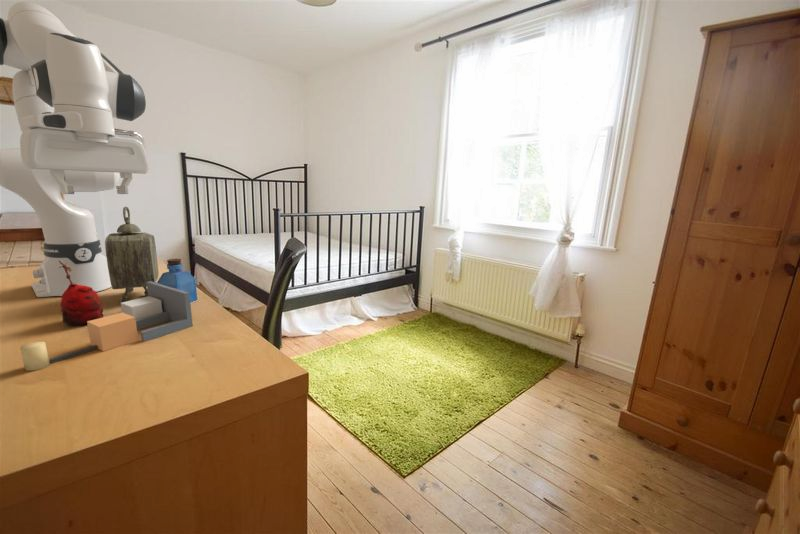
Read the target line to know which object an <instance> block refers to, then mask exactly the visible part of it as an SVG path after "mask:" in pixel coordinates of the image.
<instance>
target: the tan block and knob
mask: <svg viewBox="0 0 800 534" xmlns="http://www.w3.org/2000/svg"><path fill="white" fill-rule="evenodd" d="M118 313H119V314H117V313H114V314H115V315H113V314H110V315H111V316H109V315H106V316H107V317H106V316H103V317H102V318H99V319H95V320H91V321H87V329H88V335H89V341H90V346H87V347H85V348H81V349H77V350H73V351H71V352H67V353H64V354H61V355H57V356H54V357H52V358H49V354H48V349H47V344H46V341H35V342H29V343H27V344H24V345H21V346H20V352H21V356H22V357H21V358H22V361H23V365H24V366H23V367H24V370H25V371H26V372H33V371H39V370H42V369H44V368H47V367H48V366H49V365H50V364H53V363H56V362H59V361H63V360H66V359H69V358H73V357H76V356H78V355H82V354H86V353H88V352H92V351H95V350H100V351H102V352H105V351H108V350H112V349H115V348H119V347H121V346H124V345H127V344H131V343H134V342H137V341H139V334H138V330H137V327H136V320H135V317H133V316H130V315H128V314H125V313H121V312H118Z"/></svg>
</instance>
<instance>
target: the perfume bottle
mask: <svg viewBox="0 0 800 534" xmlns="http://www.w3.org/2000/svg"><path fill="white" fill-rule="evenodd" d="M166 261H167V264H166V269H167V270H168V271H167V272H162V274H161V276H160V277H158V279H157V281H156V283H159V284H162V285H166V286H169V287H172V288H176V289H179V290H182V291H186V292H189V295H190V303H191V302H193V301H196V300H198V292H197V283H196V278H195V277H194V276H193V274H191V272H189V271H188V270H182V268H183V263H182V258H169V259H167V260H166ZM196 302H197V301H196ZM193 303H194V302H193ZM191 304H192V303H191Z"/></svg>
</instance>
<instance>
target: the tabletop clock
mask: <svg viewBox="0 0 800 534" xmlns="http://www.w3.org/2000/svg"><path fill="white" fill-rule="evenodd" d="M126 212H127V215H126ZM122 217H123V221H124V223H123V224H121V225H119V226H118V228H117V230H116V232H115V233H109V234H108V235H106V238H105V241H104V245H105V246H104V248H105V255H106V257H107V265H108V271H109V276H110V282H111V289H112V290H121V289H122V290H124V289H125V290H124V295H123V297H122V296H121V297H120V298H119V302H120V304H121V303H122V302H127V301H128V299H127V296H128V294H129V293H132V292H134V288H135V289H136V288H143V290H144V293H143V294H144V295H145V297H148V290H147V283H146V282H149V281H152V282H155V283H157V282H158V279H159V264H158V256H157V247H156V240H155V236H154V235H153V234H150V233H147V232H142V230H141V229H140V227H139V226H137V224H133V223H131V214H130V209H129V207H128V206H124V207H123V209H122Z"/></svg>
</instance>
